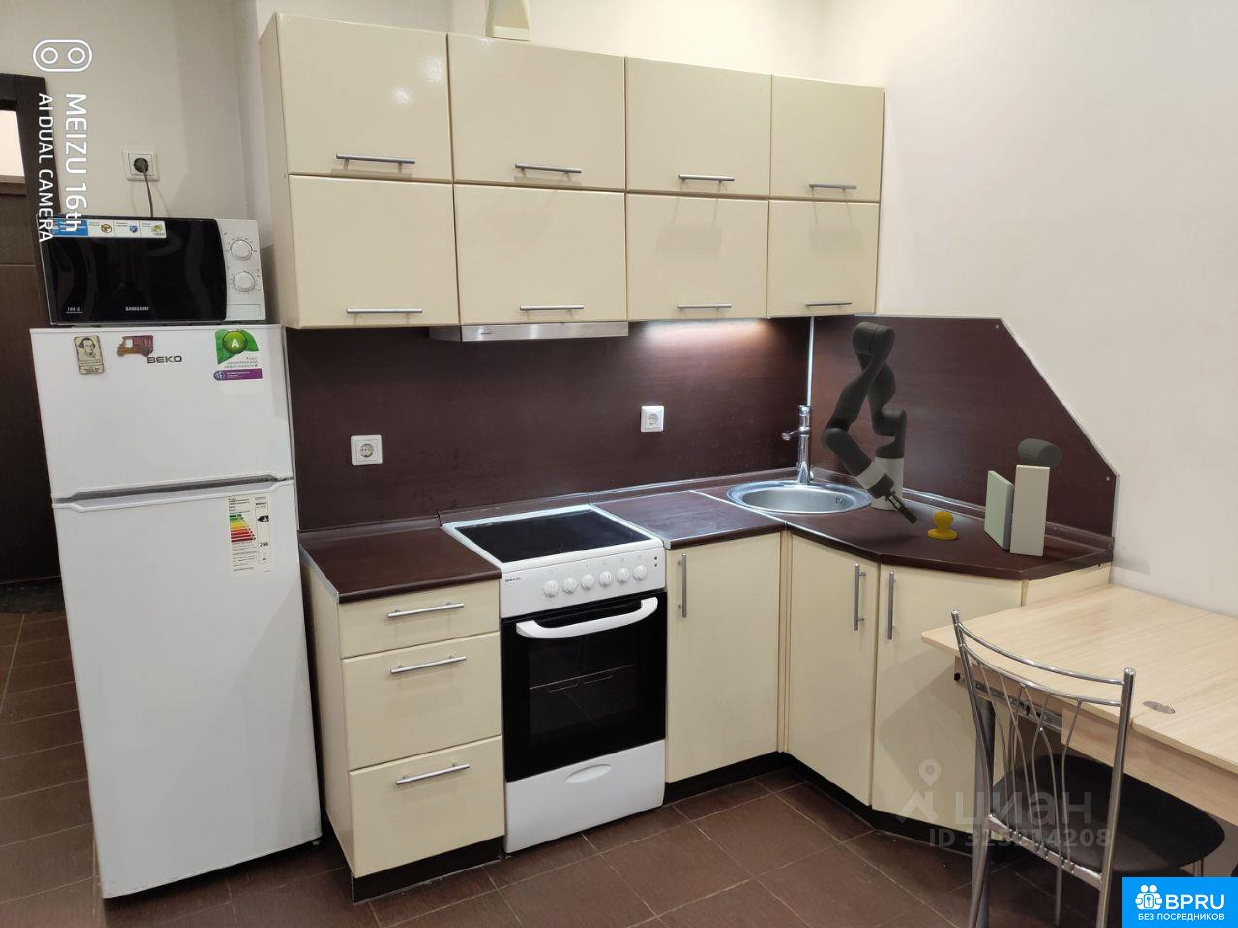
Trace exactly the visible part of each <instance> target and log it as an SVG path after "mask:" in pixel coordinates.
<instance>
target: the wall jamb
mask: <svg viewBox="0 0 1238 928" xmlns="http://www.w3.org/2000/svg"><path fill="white" fill-rule="evenodd" d="M1050 470H1051V469H1050V467H1039V466H1033V465H1021V464H1017V465H1016V469H1015V479H1014V480H1015V481H1014V494H1013V508H1012V521H1011V534H1010V548H1009V553H1010V554H1011V553H1013V554H1020V555H1028V556H1037V557H1043V554H1044V553H1043V552H1044V542H1045V541H1044V540H1045V533H1046V532H1045V530H1046V529H1045V528H1046V518H1047V507H1048V505H1047V504H1048V495H1049V494H1048V493H1049V481H1050V480H1049V479H1050Z"/></svg>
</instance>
